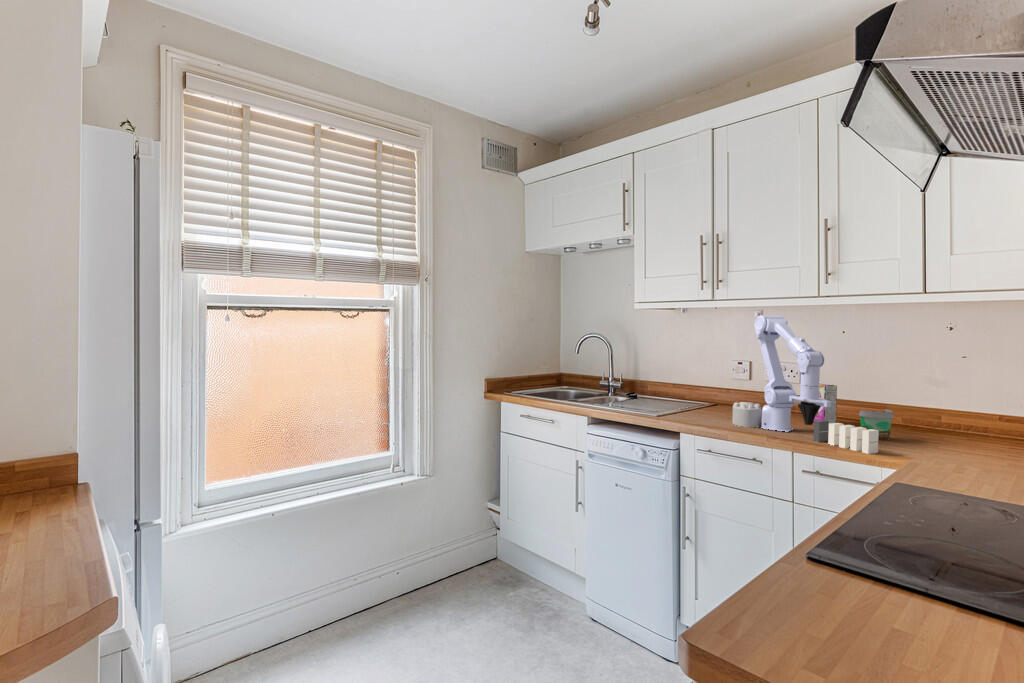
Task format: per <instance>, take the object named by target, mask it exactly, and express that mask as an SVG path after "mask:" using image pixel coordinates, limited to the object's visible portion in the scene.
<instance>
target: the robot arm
mask: <svg viewBox="0 0 1024 683" xmlns="http://www.w3.org/2000/svg"><path fill="white" fill-rule="evenodd" d="M753 328H754V331H755V334H756V338H757V340H758V345H759V348H760V352H761V356H762V360H763V364H764V367H765V370H766V376H767V378H768V383H767V384H766V385H765V386H764V387H763V391H764V401H765V402H766V404H765V405H763V407H762V408H761V427H760V429H761V428H763V429H764V430H768V429H769V431H775V430H777V431H776V432H782V431H785V432H784V433H790V432H791V430H792V431H794V430H795V428H794V427H791V420H792V417H791V416H792V408H793V407H794V405H795V404H796V403H798V404H797V407H798V408H799V410H800V412H801V414H802V417H803V421H804V425H807V426H813V425H814V422H813V421H814V418H815V416H816V414H817V412H818V410H819V409H820V408H821V406H824V407H831V401H827V400H823V399H819V382H820V376H821V370H820V369H821V367H823V366H824V365H825V364H824V363H825V357H824V354H823V353H822V352H821V351H820V350H815V349H813V348H812V347H811V346H810V345H809V344H808V342H806V340H805V338H804V337H800V336H799V337H798V336H796V334H795V333H794V331H793V330H792V329H791V328H790V326H789V325H788V319H786V318H785V316H784V315H762V314H760V315H757V317H756V319H755V322H754V325H753ZM780 337H781V338H782V339H783V340H784V341H785V342H786V343H787V348H788V349H789V351H791V353H792V354H793V355H794V357H795V358H796V364H797V365H798V371H799V373H800V385H799V386H800V387H799V388H800V389H799V390H800V391H799V395H797V393H796V390H795V389H794V387H793V385H792V384H791V382H790V381H787V380H786V379H785V376H784V373H783V369H782V365H781V361H780V358H779V354H778V351H777V350H778V349H777V347H776V344H775V341H776V340H778V339H779V338H780ZM811 402H813V403H811ZM763 429H762V430H763ZM793 429H794V430H793ZM789 431H790V432H789Z"/></svg>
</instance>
